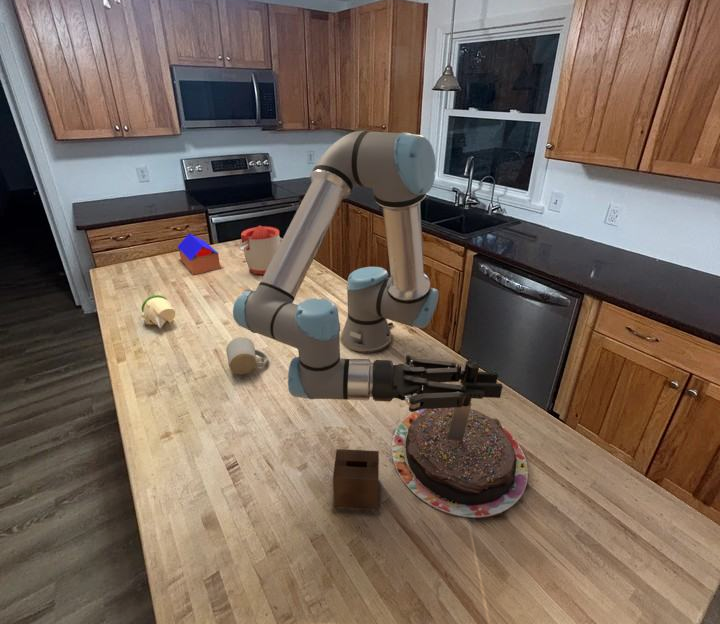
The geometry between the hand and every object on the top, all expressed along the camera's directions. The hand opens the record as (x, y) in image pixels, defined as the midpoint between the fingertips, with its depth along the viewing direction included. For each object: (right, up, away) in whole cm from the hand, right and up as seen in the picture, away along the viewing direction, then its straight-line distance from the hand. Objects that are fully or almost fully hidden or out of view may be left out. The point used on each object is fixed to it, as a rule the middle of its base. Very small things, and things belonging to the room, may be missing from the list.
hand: (498, 384), depth 72 cm
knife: (-6, -13, +6) cm, 16 cm away
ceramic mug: (-57, -6, +38) cm, 69 cm away
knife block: (-26, -22, +2) cm, 34 cm away
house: (-97, +24, +102) cm, 143 cm away
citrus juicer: (-68, +22, +96) cm, 120 cm away
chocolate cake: (-5, -18, +11) cm, 22 cm away
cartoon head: (-94, +5, +59) cm, 111 cm away
